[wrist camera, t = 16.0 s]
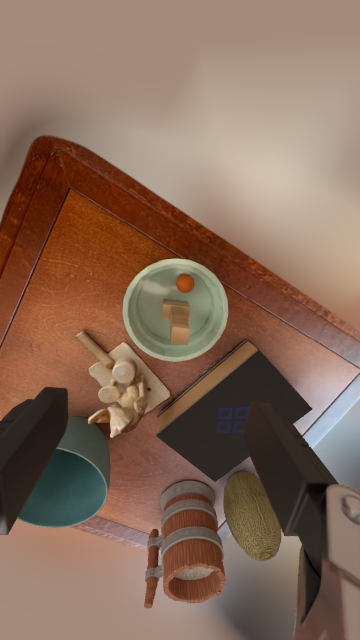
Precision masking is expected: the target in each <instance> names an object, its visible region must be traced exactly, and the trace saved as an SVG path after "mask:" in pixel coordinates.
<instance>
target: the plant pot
mask: <svg viewBox="0 0 360 640" xmlns="http://www.w3.org/2000/svg"><path fill="white" fill-rule="evenodd" d="M88 422H89V421H88V418H85V417H69V418H68V424H67V428H66V431H65V433H64V436H63V437H62V439H61V441H60V443H59V445H58V446H57V448H56V450H55V452H54V453H53V455H52V457H51V459H50V461H49V462H48V464H47V466H46V468H45V469H44V471H43V473H42V475H41V477H40V478H39V480H38V482H37V484H36V485H35V487H34V489H33V491H32V493H31V494H30V496H29V498H28V500H27V501H26V503H25V505H24V507H23V509H22V510H21V512H20V514H19V516H18V517H17V519H18V520H20V521H23V522H25V523H27V524H30V525H34V526H39V527H46V528H62V527H70V526H74V525H78V524H80V523H83V522H85V521H87V520H89V519H90V518H92V517H93V516H95V515H96V514H97V513H98V512H99V511H100V510H101V508H102V507H103V505H104V503H105V501H106V498H107V494H108V489H109V482H110V455H109V449H108V445H107V442H106V439H105V437H104V435H103V433H102V431H101V429H100V428H99V427H98V425H97V424H96V423H95V422H92V423H91V424H88Z"/></svg>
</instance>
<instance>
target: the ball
mask: <svg viewBox="0 0 360 640" xmlns="http://www.w3.org/2000/svg"><path fill="white" fill-rule="evenodd" d="M176 287H177V289H178V290H179V291H181V292H183V293H187V292H190V291H191V290H192V289H193V287H194V279H193V278H192V277H191V276H190V275H188V274H182V275H180V276H179V277H178V278H177V280H176Z"/></svg>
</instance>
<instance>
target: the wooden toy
mask: <svg viewBox="0 0 360 640" xmlns="http://www.w3.org/2000/svg"><path fill="white" fill-rule="evenodd" d="M76 338H77V339H78V340H79V341H80V342H81V343H82V344H83V345H84V346H85V347H86V348H87V349H88V350H89V351H90V353H92V355H94V356H95V357H96V358H97V359H98V362H96V363H95V364H94V365H93V366H91V367H90V368H89V369H88V370H89V373H90V375H91V376H92V377H93V378H94V379H96V380H97V382H98V383H99V384H100V385H101V386H102V387H103V388H101V389H100V390H99V392H98V397H99V399H100V400H101V401H102V402H104V403H113V402H115V401H117V402H118V403H119V404H120V405H121V406H122V407H119V406H117V405H116V404H114V405H112V406H110V407H108V408H107V409H100V410H99V411H97V412H96V413H95V414H93V415H92V416H90V417H89V419H88V421H89V422H88V424H91V423H92V422H97V423H110V427H111V428H110V430H111V434H110V438H113V437H115V436H117V435H119V434H124V433H127V432H129V431H131V430H133V429H135V428H136V426H137V424H138V423H139V421H140V419H141V418H142V417H143V415H144V414H146V413H147V412H149V411H151V410H152V409H153V408H155V407H156V406H157V405H159V404H160V403H161V402H163V401H165V400H166V399H168V398H169V397H170V391H169V390H168V389H167V388H166V387H165V386H164V385H163V383H162V382H161V381H160V380H159V379H158V378H157V377H156V375H155V374H154V373H153V372H152V371H151V370H150V369H149V367H148V366H147V365H146V364H145V363H144V362H143V360H142V359H141V358H140V357H139V356H138V355H137V354H136V353H135V352H134V350H133V349H132V348H131V347H130V346H129V345H128V344H127V343H125V342H122V343H121V344H120V345H119V346H117V347H116V348H115V349H113V350H112V351H111V352H110V353H108V354H107V353H105V352H104V351H103V350H102V349H101V348H100V347H99V346H98V345H97V344H96V343H95V342H94V341H93V340H92V339H91V338H90V337H89V336H88V335H87V334H86V333H85V331H82V332H81V333H80V334H78V335H77V336H76Z"/></svg>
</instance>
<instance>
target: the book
mask: <svg viewBox="0 0 360 640" xmlns="http://www.w3.org/2000/svg"><path fill="white" fill-rule="evenodd" d="M252 402H262V403H270V404H271V405H272V406H273V407H274V408H275V410H276V411H277V413H278V414H279V415H280V416H283V417H284V418H286V419H287V420H288V421H289V422H290V423H292V424H293V423H295V422H296V421H297V420H299V419H300V418H301V417H303V416H304V415H305V414H307V413H308V412H310V411H311V410H312V408H311V407H310V406H309V405H308V403H307V402H306V401H305V400H304V399H303V398H302V397H301V396H300V395H299V394H298V392H297V391H296V390H295V389H294V388H293V387H292V386H291V385H290V384H289V382H288V381H287V380H286V379H285V378H284V377H283V376H282V375H281V374H280V373H279V371H278V370H277V369H276V368H275V367H274V366H273V365H272V364H271V363H270V362H269V360H268V359H267V358H266V357H265V356H264V355H263V354H262V353H261V352H260V350H258V349H256V347H255V346H254V345H253V344H252V343H251V342H250V341H249V340H248V339H246V340H245V341H243V342H242V343H241V344H240V345H239V346H237V347H236V348H235V349H234V350H233V351H232V352H230V353H229V354H228V355H227V356H226V357H225V358H223V359H222V360H221V361H220V362H219V363H218V364H216V365H215V366H214V367H213V368H212V369H210V370H209V371H208V372H207V373H206V374H205V375H203V376H202V377H201V378H200V379H199V380H198V381H196V382H195V383H194V384H193V385H192V386H191V387H189V388H188V389H187V390H186V391H185V392H183V393H182V394H181V395H180V396H179V397H178V398H176V399H175V400H174V401H173V402H172V403H171V404H169V405H168V406H167V407H166V408H165V409H164V410H162V411H161V412H160V413H159V414H158V416H157V417H158V433H157V435H156V436H157V437H158V438H159V439H161V440H162V441H163V442H165V443H166V444H167V445H168V446H170V447H171V448H172V449H174V450H175V451H176V452H177V453H179V454H180V455H181V456H183V457H184V458H185V459H186V460H188V461H189V462H190V463H191V464H193V465H194V466H195V467H197V468H198V469H199V470H200V471H202V472H203V473H204V474H206V475H207V476H208V477H209V478H211V479H212V480H213V481H215V482H216V481H217V480H218V479H220V478H221V477H222V476H224V475H225V474H226V473H228V472H229V471H230V470H232V469H233V468H234V467H236V466H237V465H238V464H240V463H241V462H242V461H244V460H245V459H246V458H248V457H249V456H250V455H249V452H248V450H247V448H246V445H245V442H244V436H243V432H244V427H245V423H246V419H247V415H248V412H249V408H250V405H251V403H252Z"/></svg>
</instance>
